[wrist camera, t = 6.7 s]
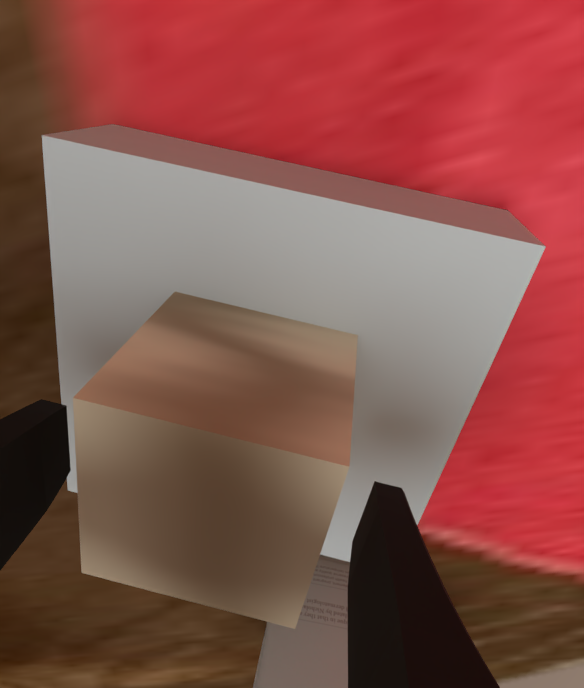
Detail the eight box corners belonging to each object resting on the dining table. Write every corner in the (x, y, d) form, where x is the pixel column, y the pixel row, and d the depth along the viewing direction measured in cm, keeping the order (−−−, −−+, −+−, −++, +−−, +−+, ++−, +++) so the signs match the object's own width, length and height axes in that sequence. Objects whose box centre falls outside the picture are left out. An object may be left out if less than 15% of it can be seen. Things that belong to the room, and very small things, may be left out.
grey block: (119, 422, 21) (67, 490, 17) (119, 122, 15) (41, 135, 11) (391, 489, 20) (395, 573, 17) (504, 206, 14) (545, 246, 11)
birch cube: (164, 433, 15) (81, 572, 11) (174, 291, 13) (72, 397, 8) (317, 472, 15) (295, 628, 11) (357, 335, 13) (349, 466, 8)
